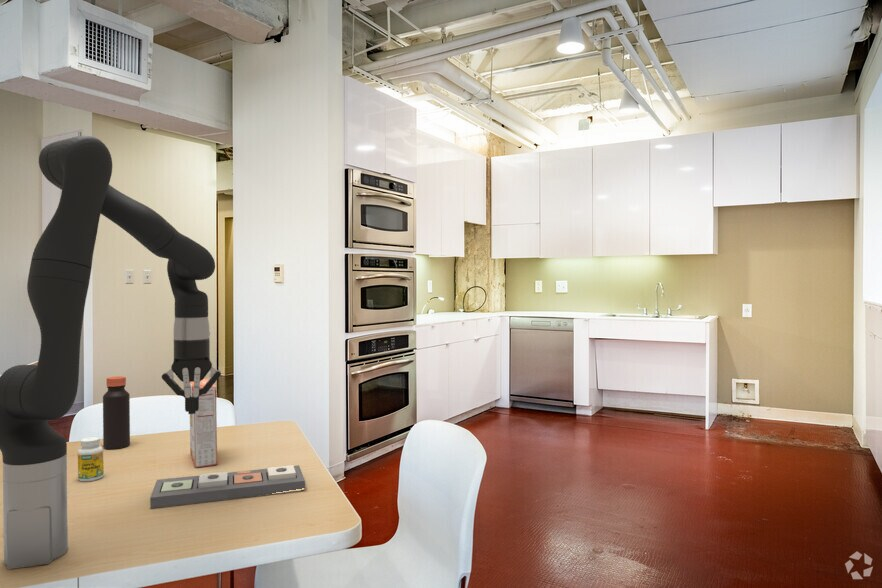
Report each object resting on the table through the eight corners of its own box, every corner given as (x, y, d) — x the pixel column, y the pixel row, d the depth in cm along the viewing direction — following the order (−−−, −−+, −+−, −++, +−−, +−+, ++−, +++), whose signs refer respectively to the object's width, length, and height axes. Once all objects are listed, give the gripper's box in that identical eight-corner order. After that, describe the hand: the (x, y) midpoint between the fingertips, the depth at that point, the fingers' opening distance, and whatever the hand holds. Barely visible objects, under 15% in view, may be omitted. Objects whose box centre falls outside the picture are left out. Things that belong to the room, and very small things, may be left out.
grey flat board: (305, 490, 135) (304, 480, 135) (150, 508, 124) (150, 497, 124) (299, 474, 147) (299, 464, 146) (156, 489, 136) (156, 479, 136)
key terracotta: (262, 488, 135) (262, 479, 135) (234, 491, 133) (234, 482, 133) (260, 479, 141) (260, 471, 140) (234, 482, 139) (234, 474, 138)
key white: (227, 487, 132) (227, 479, 132) (198, 491, 130) (198, 482, 130) (227, 479, 138) (227, 470, 138) (199, 482, 136) (199, 473, 136)
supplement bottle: (102, 473, 147) (102, 435, 147) (104, 479, 143) (104, 439, 142) (77, 477, 144) (77, 438, 144) (78, 483, 140) (77, 443, 140)
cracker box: (188, 454, 163) (188, 379, 163) (211, 451, 166) (211, 377, 166) (192, 468, 151) (192, 387, 150) (217, 465, 154) (217, 385, 153)
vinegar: (112, 443, 175) (111, 375, 174) (134, 443, 174) (134, 375, 174) (98, 449, 168) (97, 379, 167) (121, 450, 168) (120, 379, 167)
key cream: (295, 480, 137) (295, 471, 137) (268, 483, 135) (268, 474, 135) (293, 472, 143) (293, 464, 143) (267, 475, 141) (267, 467, 141)
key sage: (191, 496, 130) (191, 487, 130) (161, 499, 128) (160, 490, 128) (192, 487, 135) (192, 478, 135) (163, 490, 133) (163, 481, 133)
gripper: (157, 339, 128) (158, 419, 128) (222, 337, 132) (223, 414, 133) (161, 336, 135) (161, 412, 135) (222, 334, 139) (223, 408, 140)
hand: (192, 413), depth 134 cm, fingers closed
